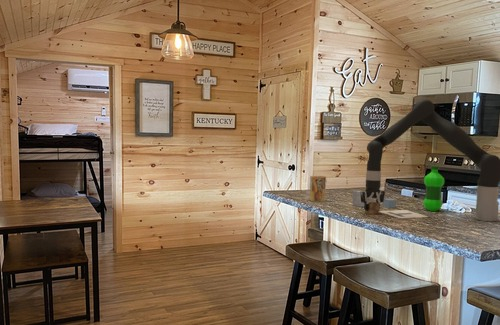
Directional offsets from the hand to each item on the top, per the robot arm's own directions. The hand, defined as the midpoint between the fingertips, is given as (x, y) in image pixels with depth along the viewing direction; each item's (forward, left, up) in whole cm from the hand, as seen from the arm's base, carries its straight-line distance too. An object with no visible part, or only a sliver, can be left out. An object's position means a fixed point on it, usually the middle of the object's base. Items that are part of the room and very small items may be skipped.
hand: (371, 210), depth 221 cm
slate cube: (-21, -13, -2) cm, 25 cm away
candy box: (+9, -44, -2) cm, 45 cm away
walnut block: (0, 0, -2) cm, 2 cm away
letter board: (-15, +6, -2) cm, 16 cm away
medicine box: (-7, -21, -2) cm, 22 cm away
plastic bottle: (-41, -1, -2) cm, 41 cm away
